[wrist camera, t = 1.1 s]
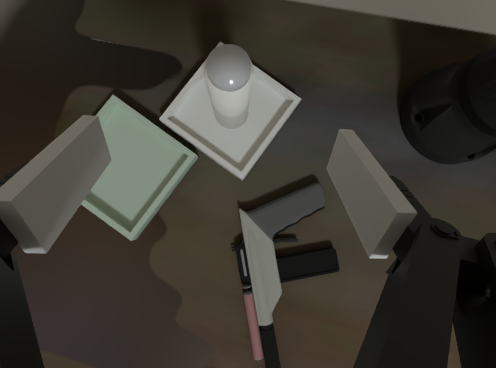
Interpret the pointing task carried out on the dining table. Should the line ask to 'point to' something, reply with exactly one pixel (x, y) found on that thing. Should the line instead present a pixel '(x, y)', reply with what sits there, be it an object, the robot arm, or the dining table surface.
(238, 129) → the grey tray
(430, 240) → the robot arm
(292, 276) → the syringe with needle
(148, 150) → the green tray
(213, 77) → the sugar shaker
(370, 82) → the dining table surface
